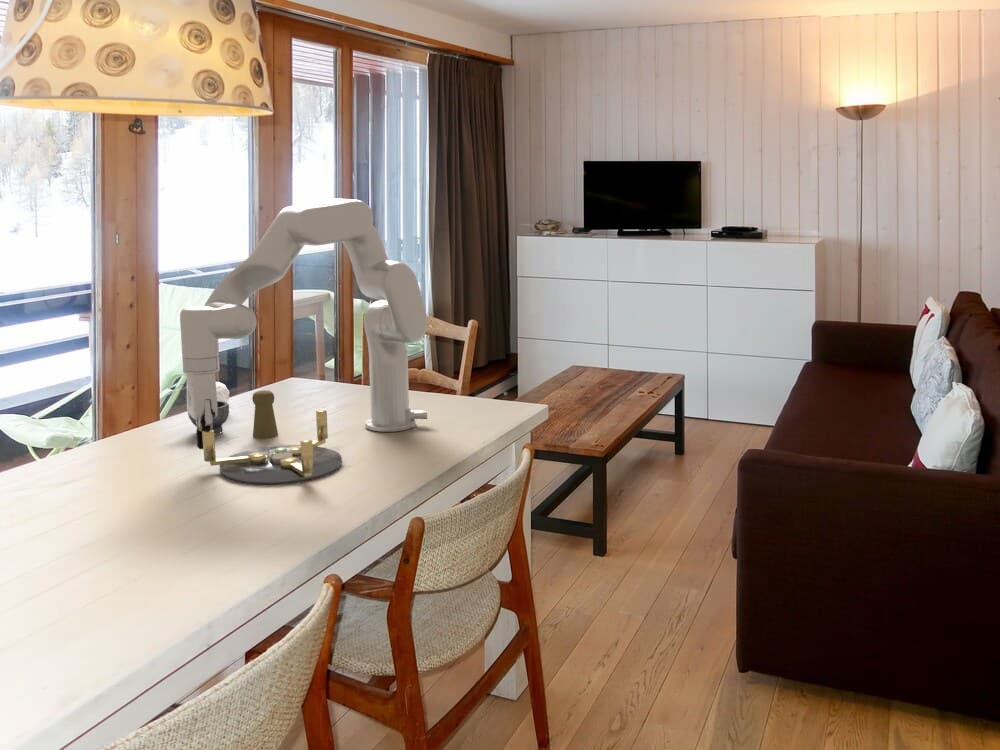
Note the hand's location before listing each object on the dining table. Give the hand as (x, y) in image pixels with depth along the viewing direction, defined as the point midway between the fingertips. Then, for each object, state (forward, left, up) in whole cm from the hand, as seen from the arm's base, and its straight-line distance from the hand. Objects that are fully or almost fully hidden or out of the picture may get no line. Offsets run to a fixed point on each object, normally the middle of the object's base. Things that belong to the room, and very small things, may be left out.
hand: (205, 447), depth 221 cm
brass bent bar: (-21, -8, -3) cm, 22 cm away
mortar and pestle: (+7, -30, -5) cm, 32 cm away
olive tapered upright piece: (-8, -26, -5) cm, 28 cm away
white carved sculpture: (+8, -46, -5) cm, 47 cm away
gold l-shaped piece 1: (-7, +2, -3) cm, 8 cm away
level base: (-16, +1, -5) cm, 17 cm away
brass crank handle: (-21, +9, -3) cm, 23 cm away
